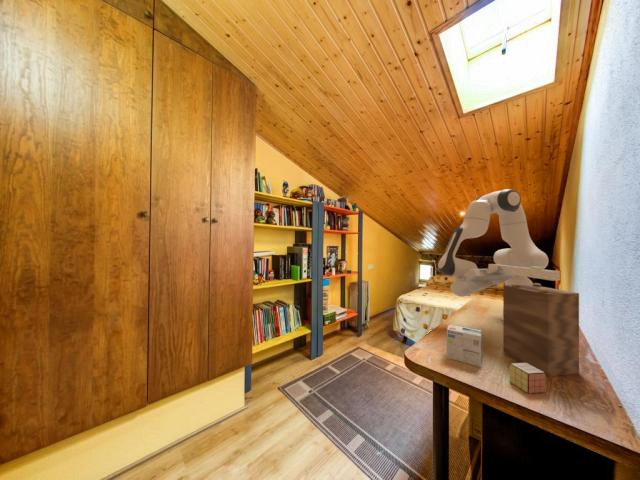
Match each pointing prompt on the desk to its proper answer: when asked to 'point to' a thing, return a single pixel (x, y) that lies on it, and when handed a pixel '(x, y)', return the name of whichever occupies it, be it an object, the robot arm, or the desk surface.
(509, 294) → the plinth
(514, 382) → the puzzle toy
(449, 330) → the light bulb box
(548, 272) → the sighting bar
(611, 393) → the desk surface
